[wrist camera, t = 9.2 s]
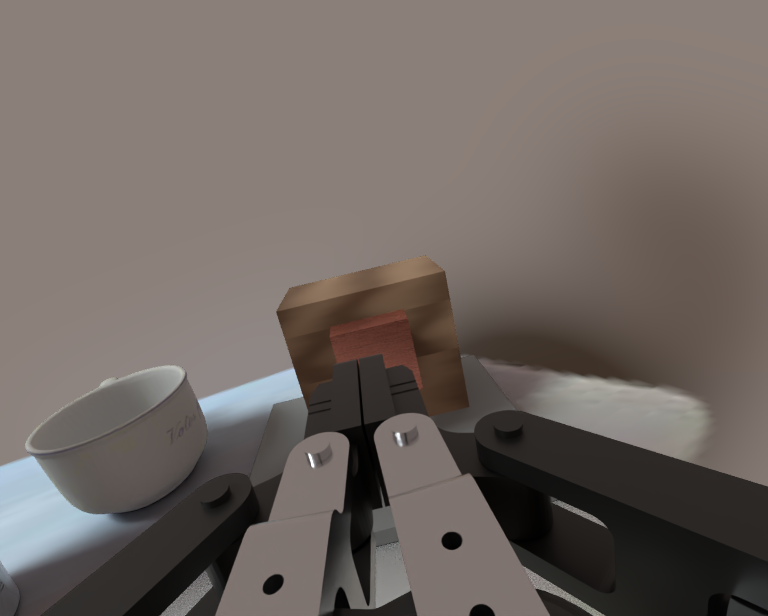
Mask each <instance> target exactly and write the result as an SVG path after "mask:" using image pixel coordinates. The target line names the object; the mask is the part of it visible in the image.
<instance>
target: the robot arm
mask: <svg viewBox="0 0 768 616" xmlns="http://www.w3.org/2000/svg"><path fill="white" fill-rule="evenodd" d="M380 487H381V489H380ZM381 491H382V495H383V499H384V503H385V507H387V506H391V510H392V514H393V518H394V523H395V527H396V531H397V535H398V539H399V543H400V547H401V551H402V555H403V559H404V563H405V567H406V571H407V575H408V579H409V583H410V588H411V591H410V592H408V593H406V594H404V595H402V596H400V597H398V598H397V599H395V600H393V601H391V602H389V603H387V604H385V605H383V606H381V607H379V608H376V540H375V535H374V531H373V511H372V510H375V509H379V508H383V505H382V497H381ZM551 497H553V498H555V499H558V500H560V501H562V502H564V503H567V504H569V505H571V506H573V507H575V508H578V509H580V510H582V511H584V512H587V513H589V514H591V515H593V516H595V517H596V518H598V519H599V520H600V521H602V522H603V523H604V524H605V525H606V526H607V528H606V527H603V526H601V525H599V524H597V523H595V522H592V521H590V520H588V519H586V518H584V517H582V516H579V515H577V514H575V513H573V512H571V511H568V510H566V509H564V508H562V507H560V506H558V505H555V504H553V503H552V502H551ZM522 565H523V566H524V567H526V568H528V569H529V570H531V571H533V572H534V573H536V574H538V575H539V576H541V577H543V578H544V579H546V580H548V581H549V582H551V583H553V584H554V585H556V586H557V587H559V588H561V589H562V590H564V591H566V592H567V593H569V594H571V595H572V596H574V597H576V598H577V599H579V600H581V601H582V602H584V603H586V604H587V605H589V606H591V607H592V608H594V609H595V610H597V611H599V612H600V613H602V614H604V615H605V616H768V487H767V486H764V485H761V484H757V483H754V482H751V481H748V480H744V479H741V478H738V477H735V476H731V475H728V474H725V473H721V472H718V471H715V470H711V469H708V468H705V467H702V466H699V465H695V464H692V463H689V462H686V461H682V460H679V459H676V458H673V457H669V456H666V455H663V454H659V453H656V452H653V451H650V450H646V449H643V448H640V447H637V446H633V445H630V444H627V443H624V442H620V441H617V440H614V439H610V438H607V437H604V436H601V435H597V434H594V433H591V432H588V431H584V430H581V429H578V428H575V427H571V426H568V425H565V424H562V423H558V422H555V421H552V420H548V419H545V418H542V417H539V416H535V415H532V414H529V413H526V412H522V411H516V410H502V411H497V412H493V413H490V414H488V415H486V416H484V417H483V418H481V419H480V420H479V421H478V422H477V424H476V425H475V428H474V433H456V432H449V431H445V430H443V429H440V428H438V427H437V426H436V425H435V423H434V421H433V420H432V419H431V418H429V416H428V413H427V410H426V407H425V405H424V402H423V399H422V396H421V394H420V391H419V388H418V385H417V383H416V380H415V377H414V374H413V372H412V370H410V369H409V368H407V367H405V366H404V365H399V366H395V367H391V368H386V369H385V364H384V360H383V356H382V353H381V354H376V355H372V356H367V357H363V358H359V363H358V360H357V359H355V360H350V361H346V362H342V363H337V364H333V376H332V381H330V382H326V383H322V384H319V385H318V386H317V387H316V389H315V390H314V391H313V392H312V394H311V396H310V403H309V409H308V416H307V422H306V428H305V435H304V440H303V441H301V442H300V443H299V444H297V445H296V446H295V447H294V448H293V449H292V451H291V452H290V454H289V456H288V459H287V462H286V465H285V468H284V472H282V473H281V474H279V475H277V476H275V477H273V478H271V479H269V480H267V481H265V482H263V483H260V484H258V485H256V486H254V487H253V486H252V483H251V481H250V479H249V478H248V477H247V476H246V475H244V474H240V473H231V474H226V475H222V476H219V477H217V478H214V479H212V480H210V481H208V482H207V483H205V484H204V485H202V486H201V487H199V488H198V489H197V490H195V491H194V492H193V493H192V494H190V495H189V496H188V497H187V498H185V499H184V500H183V501H182V502H181V503H179V504H178V505H177V506H176V507H174V508H173V509H172V510H171V511H169V512H168V513H167V514H166V515H164V516H163V517H162V518H161V519H160V520H158V521H157V522H156V523H155V524H153V525H152V526H151V527H150V528H148V529H147V530H146V531H145V532H143V533H142V534H141V535H140V536H138V537H137V538H136V539H135V540H134V541H132V542H131V543H130V544H129V545H127V546H126V547H125V548H124V549H122V550H121V551H120V552H119V553H117V554H116V555H115V556H114V557H113V558H111V559H110V560H109V561H108V562H106V563H105V564H104V565H103V566H101V567H100V568H99V569H98V570H96V571H95V572H94V573H93V574H91V575H90V576H89V577H88V578H87V579H85V580H84V581H83V582H82V583H80V584H79V585H78V586H77V587H75V588H74V589H73V590H72V591H70V592H69V593H68V594H67V595H66V596H64V597H63V598H62V599H61V600H59V601H58V602H57V603H56V604H54V605H53V606H52V607H51V608H49V609H48V610H47V611H46V612H44V613H43V614H42V615H41V616H159V615H160V614H161V613H162V612H163V611H164V610H165V609H166V608H167V607H168V606H169V605H170V604H171V603H172V602H173V601H174V600H175V599H176V598H178V597H179V596H180V595H181V594H182V593H183V592H184V591H185V590H186V589H187V588H188V587H189V586H190V585H191V584H192V583H193V582H194V581H195V580H196V579H197V578H198V577H199V576H200V575H201V574H202V573H203V572H204V571H205V570H206V572H207V574H208V576H209V579H210V581H211V583H212V585H213V587H212V588H211V589H210V590H209V591H208V592H207V593H206V594H205V595H204V597H203V598H202V599H201V600H200V601H199V602H198V603H197V604H196V605H195V606H194V607H193V608H192V609H191V610H190V611H189V612H188V613H187V614H186V615H185V616H593V615H591V614H590V613H588V612H586V611H585V610H583V609H582V608H580V607H578V606H577V605H575V604H573V603H571V602H569V601H567V600H565V599H563V598H561V597H559V596H556V595H553V594H551V593H548V592H546V591H542V590H539V589H535V588H534V586H533V584H532V582H531V581H530V579H529V577H528V575H527V573H526V572H525V570H524V568H523V566H522ZM19 599H20V595H19V590H18V587H17V586H16V584H15V583H14V581H13V580H12V578H11V577H10V575H9V574H8V572H7V571H6V569H5V568H4V566H3V565H2V563H1V562H0V616H14V614H15V612H16V610H17V607H18V603H19Z"/></svg>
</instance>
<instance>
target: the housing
mask: <svg viewBox="0 0 768 616" xmlns="http://www.w3.org/2000/svg"><path fill="white" fill-rule="evenodd" d="M402 309H404V311H405V313H406V315H407V317H408V321H409V326H410V330H411V335H412V339H413V344H414V348H415V353H416V358H417V362H418V367H419V371H420V376H421V380H422V385H423V388H422V389H419V391H420V394H421V396H422V399H423V402H424V405H425V407H426V410H427V413H428V416H429V417H431V416H435V415H439V414H443V413H447V412H451V411H455V410H459V409H463V408H467V407H470V406H469V400H468V395H467V390H466V384H465V379H464V373H463V368H462V362H461V357H460V352H459V346H458V340H457V335H456V329H455V324H454V319H453V313H452V308H451V302H450V297H449V291H448V286H447V280H446V275H445V271H444V270H443V269H442V268H441V267H439V266H438V265H437V264H436V263H435V262H433V261H432V260H431V259H430V258H428V257H427V256H426V255H425V256H421V257H417V258H412V259H408V260H404V261H400V262H396V263H392V264H388V265H384V266H379V267H375V268H371V269H367V270H362V271H358V272H354V273H350V274H346V275H342V276H338V277H333V278H330V279H325V280H321V281H317V282H313V283H308V284H304V285H301V286H296V287H292V288H289V290H288V292H287V294H286V295H285V297H284V299H283V301H282V302H281V304H280V306H279V308H278V310H277V316H278V319H279V322H280V325H281V328H282V331H283V334H284V337H285V340H286V344H287V346H288V350H289V353H290V356H291V359H292V363H293V366H294V369H295V372H296V375H297V378H298V381H299V384H300V388H301V391H302V394H303V397H304V400H305V403H306V406H307V409H309V403H310V396H311V394H312V392H313V391H314V390H315V389H316V387H317V386H318V385H319V384H322V383H326V382H330V381H332V376H333V364H337V362H336V358H335V355H334V351H333V348H332V344H331V341H330V328H331V327H332V326H336V325H340V324H344V323H348V322H352V321H356V320H360V319H365V318H369V317H373V316H377V315H381V314H385V313H389V312H393V311H397V310H402Z"/></svg>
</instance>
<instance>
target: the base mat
mask: <svg viewBox="0 0 768 616" xmlns="http://www.w3.org/2000/svg"><path fill="white" fill-rule="evenodd" d="M461 362H462V368H463V373H464V379H465V384H466V390H467V395H468V400H469V406H470V407H467V408H463V409H459V410H455V411H451V412H447V413H443V414H439V415H435V416H431V417H429V418H431V419H432V420H433V421H434V423H435V425H436V426H437V427H438V428H440V429H443V430H445V431H449V432H456V433H474V428H475V425H476V424H477V422H478V421H479V420H480V419H481V418H483V417H484V416H486V415H488V414H490V413H493V412H497V411H502V410H516V408H515V407H514V406H513V405H512V403H511V402H510V401H509V399H508V398H507V397H506V396H505V394H504V393H503V392H502V390H501V389H500V388H499V387H498V385H497V384H496V383H495V381H494V380H493V379H492V377H491V376H490V375H489V374H488V372H487V371H486V370H485V368H484V367H483V366H482V365H481V363H480V362H479V361H478V359H477V358H476V357H475V356H474V355H471V356H467V357H463V358H461ZM516 411H517V410H516ZM307 416H308V409H307V406H306V403H305V400H304V397H301V398H297V399H293V400H289V401H285V402H281V403H277V404H274V405H273V408H272V411H271V414H270V417H269V420H268V423H267V426H266V429H265V432H264V435H263V438H262V441H261V444H260V447H259V450H258V453H257V456H256V459H255V462H254V465H253V468H252V471H251V474H250V477H249V479H250V481H251V483H252V486H253V487H254V486H256V485H258V484H260V483H263V482H265V481H267V480H269V479H271V478H273V477H275V476H277V475H279V474H281V473H282V472H284V468H285V465H286V462H287V459H288V456H289V454H290V452H291V451H292V449H293V448H294V447H295V446H296V445H297V444H299V443H300V442H301V441H303V440H304V435H305V428H306V422H307ZM380 489H381V487H380ZM381 497H382V505H383V508H379V509H375V510H372V511H373V531H374V535H375V540H376V547H377V546H381V545H385V544H389V543H392V542H396V541H399V539H398V535H397V531H396V527H395V523H394V518H393V514H392V510H391V506H387V507H385V503H384V499H383V495H382V491H381ZM555 500H558V499H555V498H553V497H551V502H552V501H555Z"/></svg>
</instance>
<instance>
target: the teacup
mask: <svg viewBox="0 0 768 616" xmlns="http://www.w3.org/2000/svg"><path fill="white" fill-rule="evenodd" d="M206 441H207V425H206V421H205V418H204V415H203V412H202V410H201V407H200V405H199V403H198V401H197V398H196V396H195V394H194V392H193V390H192V388H191V386H190V384H189V382H188V380H187V373H186V371H185V369H183V368H182V367H178V366H173V365H170V366H160V367H155V368H151V369H146V370H143V371H140V372H137V373H133V374H130V375H128V376H125V377H123V378H120V379H118V378H117V377H113V378H110V379H108V380H106V381H104V382H102V383H101V385H100V387H99V388H97V389H95V390H93V391H91V392H89V393H88V394H85V395H84V396H81V397H79V398H78V399H77V400H75V401H73V402H71V403H69V404H68V405H66V406H64V407H63V408H62V409H60V410H58V411H57V412H56V413H55V414H53V415H52V416H50V417H49V418H48V419H46V420H45V421H44V422H43V423H42V424H41V425H39V426H38V427H37V428H36V429H35V430H34V431H33V433H32V434H31V435H30V436H29V438H28V439H27V442H26V445H25V447H26V450H27V452H28V453H29V454H31V455H32V456H34V457H35V459H36V460H37V461H38V463H39V464H40V466H41V467H42V469H43V470H44V471H45V473H46V474H47V476H48V477H49V478H50V480H51V481H52V482H53V484H54V485H55V486H56V488H57V489H58V490H59V491H60V493H61V494H62V495H63V496H64V497H65V498H66V500H67V501H68V502H69V503H70V504H72V505H73V506H74V507H76V508H78V509H79V510H81V511H84V512H87V513H92V514H109V513H123V512H129V511H134V510H137V509H140V508H143V507H146V506H148V505H150V504H152V503H154V502H156V501H158V500H160V499H161V498H163V497H164V496H166V495H167V494H169V493H170V492H172V491H173V490H174V489H175V488H177V487H178V486H179V485H180V484H181V483H182V482H183V481H184V480H185V479H186V478H187V477H188V476H189V474H190V473H191V472H192V470H193V469H194V467H195V465H196V463H197V460H198V459H199V457H200V456H201V454H202V452H203V450H204V448H205V445H206Z"/></svg>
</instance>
